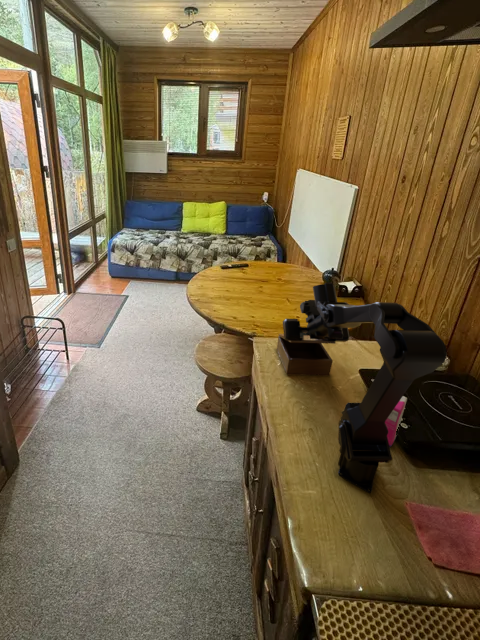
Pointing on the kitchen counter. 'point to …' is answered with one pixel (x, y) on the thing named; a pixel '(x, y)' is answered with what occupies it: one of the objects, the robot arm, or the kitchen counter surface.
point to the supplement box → (395, 420)
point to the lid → (308, 340)
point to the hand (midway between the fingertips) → (305, 335)
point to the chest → (304, 358)
